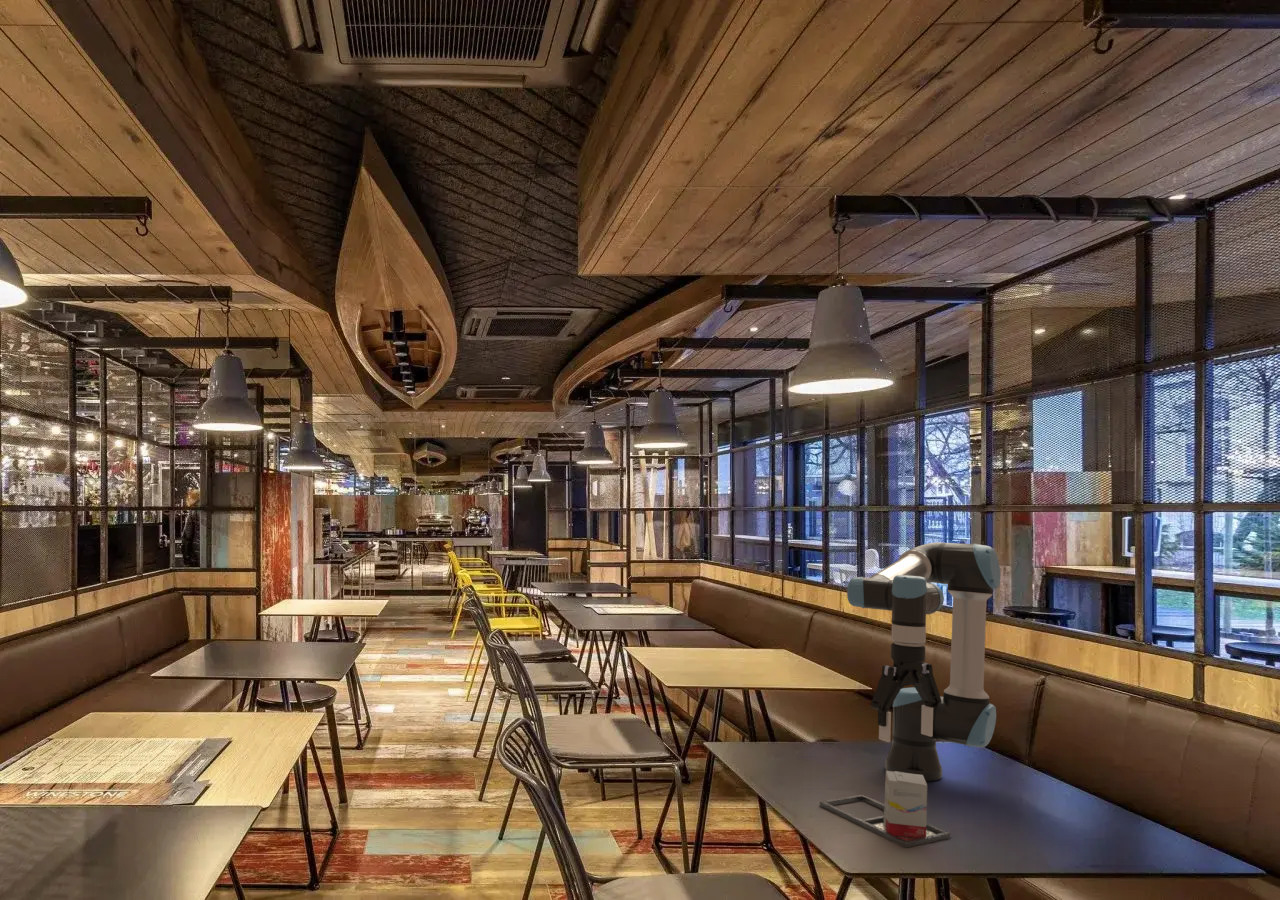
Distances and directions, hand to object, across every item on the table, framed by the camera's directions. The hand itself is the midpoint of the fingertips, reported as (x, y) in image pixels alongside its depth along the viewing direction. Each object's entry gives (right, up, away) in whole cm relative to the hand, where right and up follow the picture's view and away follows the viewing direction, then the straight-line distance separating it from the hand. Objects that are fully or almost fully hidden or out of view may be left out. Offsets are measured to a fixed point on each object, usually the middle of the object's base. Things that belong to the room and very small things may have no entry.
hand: (906, 738), depth 187 cm
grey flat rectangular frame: (-4, -21, +4) cm, 22 cm away
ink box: (-1, -21, -2) cm, 21 cm away
